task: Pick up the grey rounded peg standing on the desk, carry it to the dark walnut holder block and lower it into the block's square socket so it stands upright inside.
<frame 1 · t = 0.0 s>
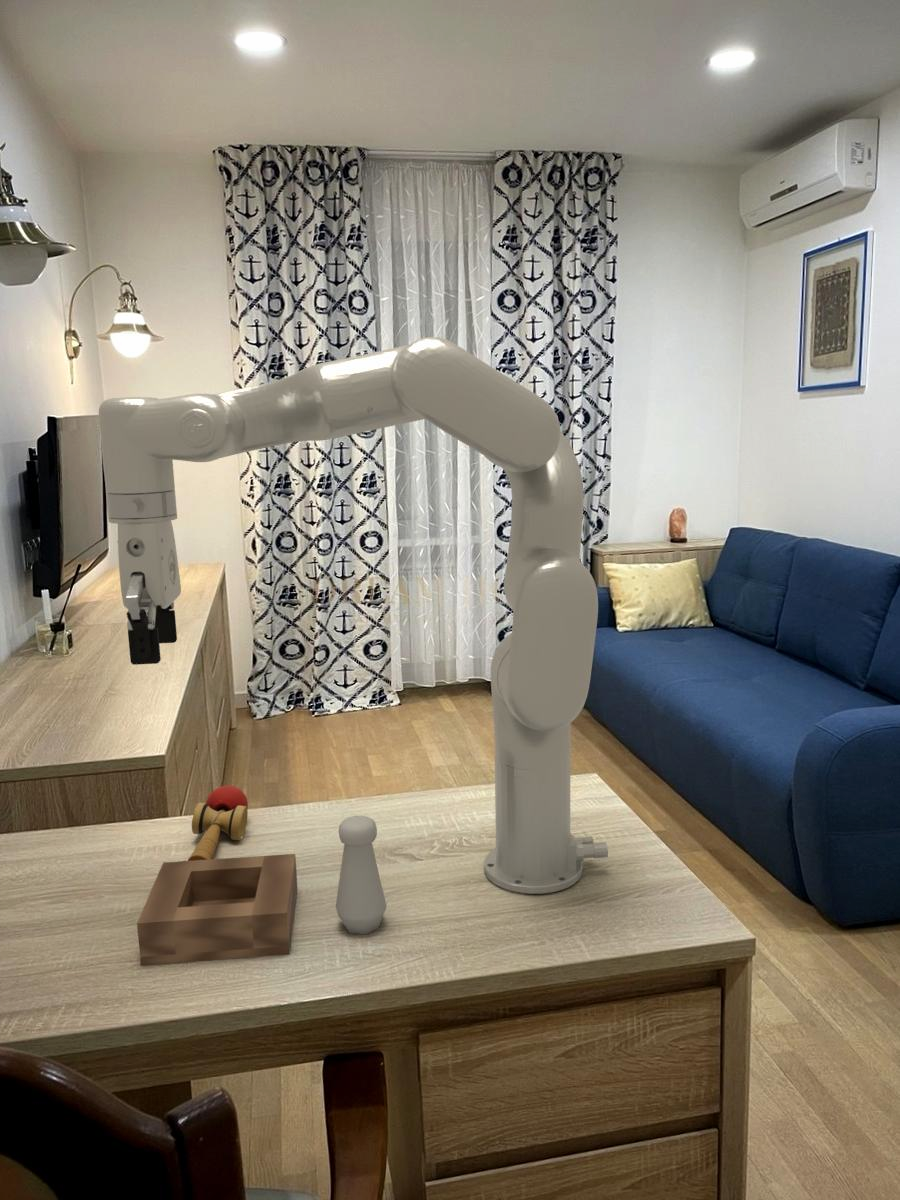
hand: (155, 652, 110), 31 cm above the table, tool pointing down, fingers open, 9 cm apart
grey rounded peg: (362, 926, 109), on the table
kendama: (218, 846, 130), on the table
socket block: (224, 925, 109), on the table
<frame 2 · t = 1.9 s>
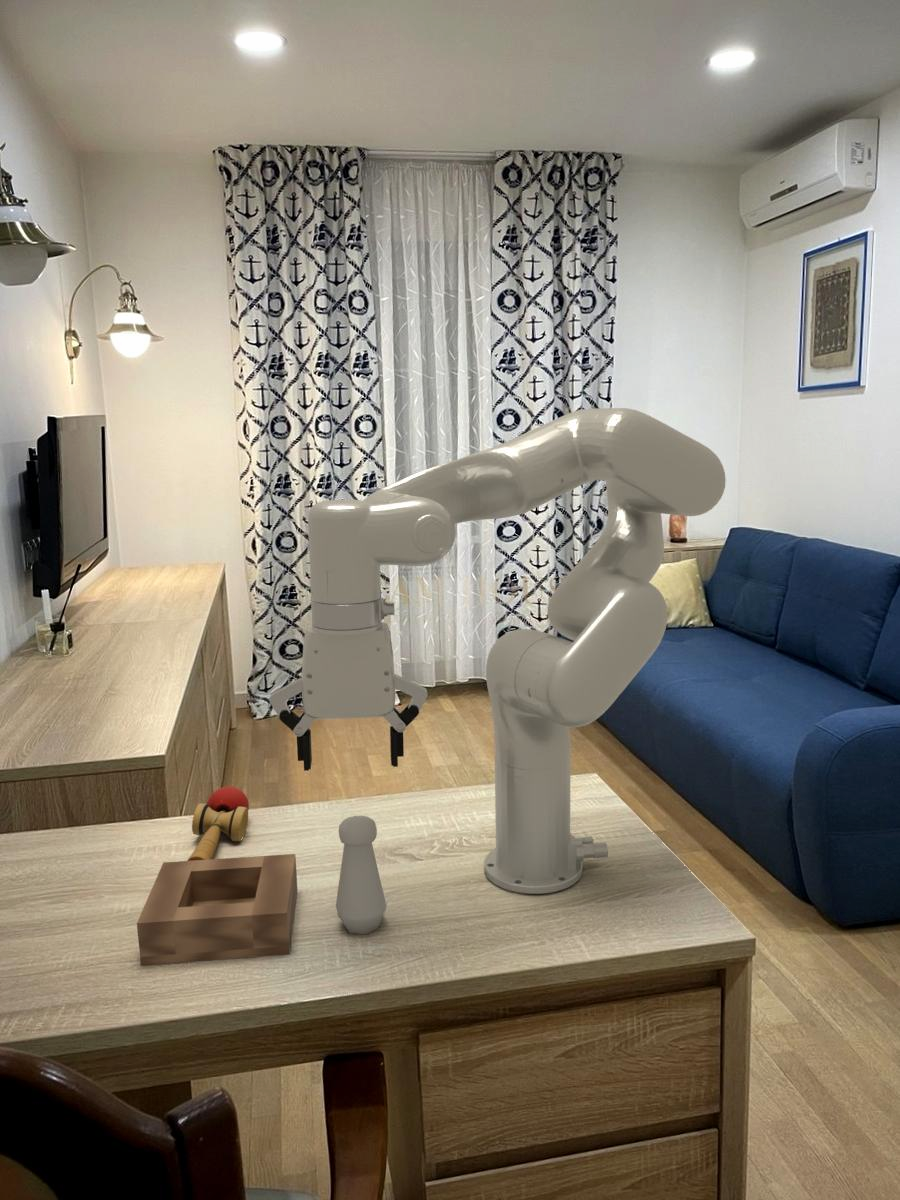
hand: (351, 764, 105), 20 cm above the table, tool pointing down, fingers open, 9 cm apart
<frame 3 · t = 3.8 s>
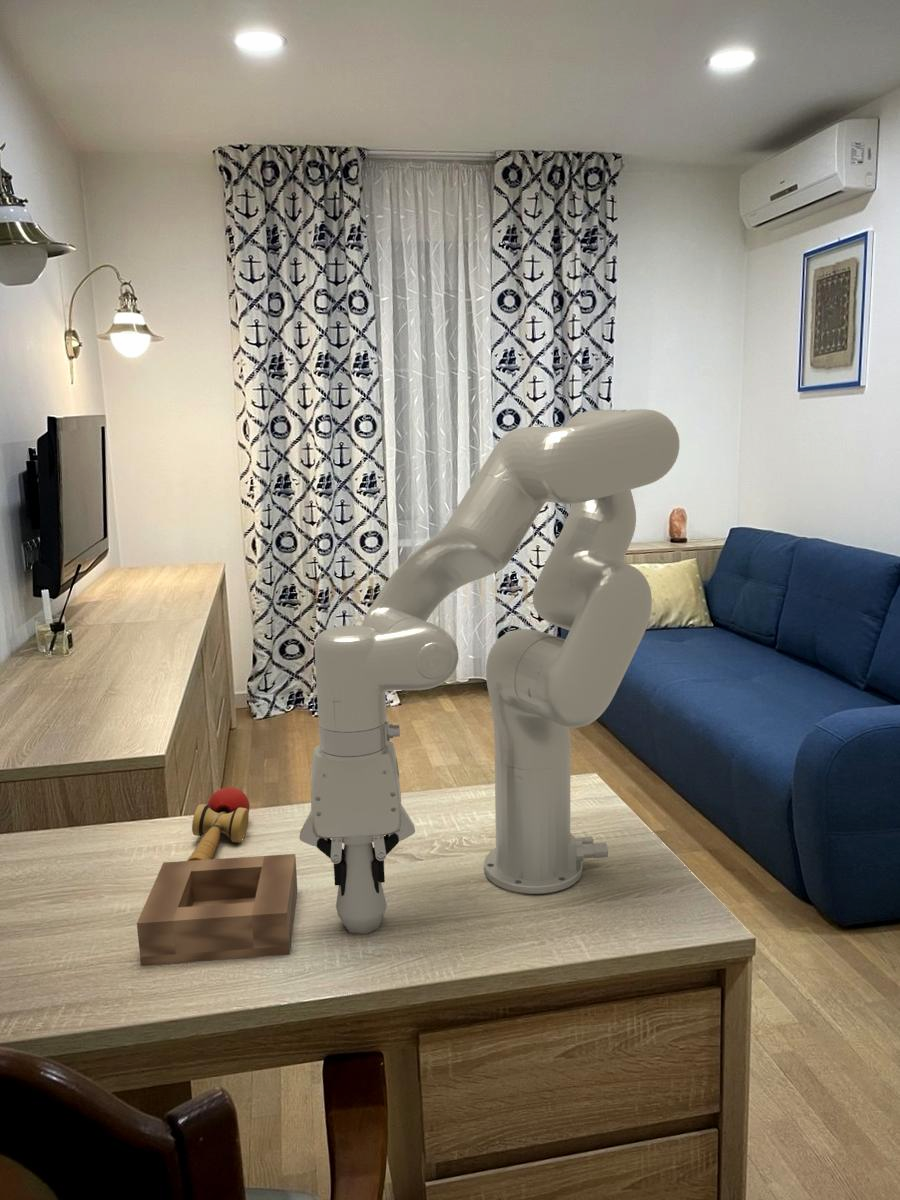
hand: (360, 887, 108), 5 cm above the table, tool pointing down, fingers closed on grey rounded peg, 3 cm apart
grey rounded peg: (362, 926, 109), on the table, touching gripper
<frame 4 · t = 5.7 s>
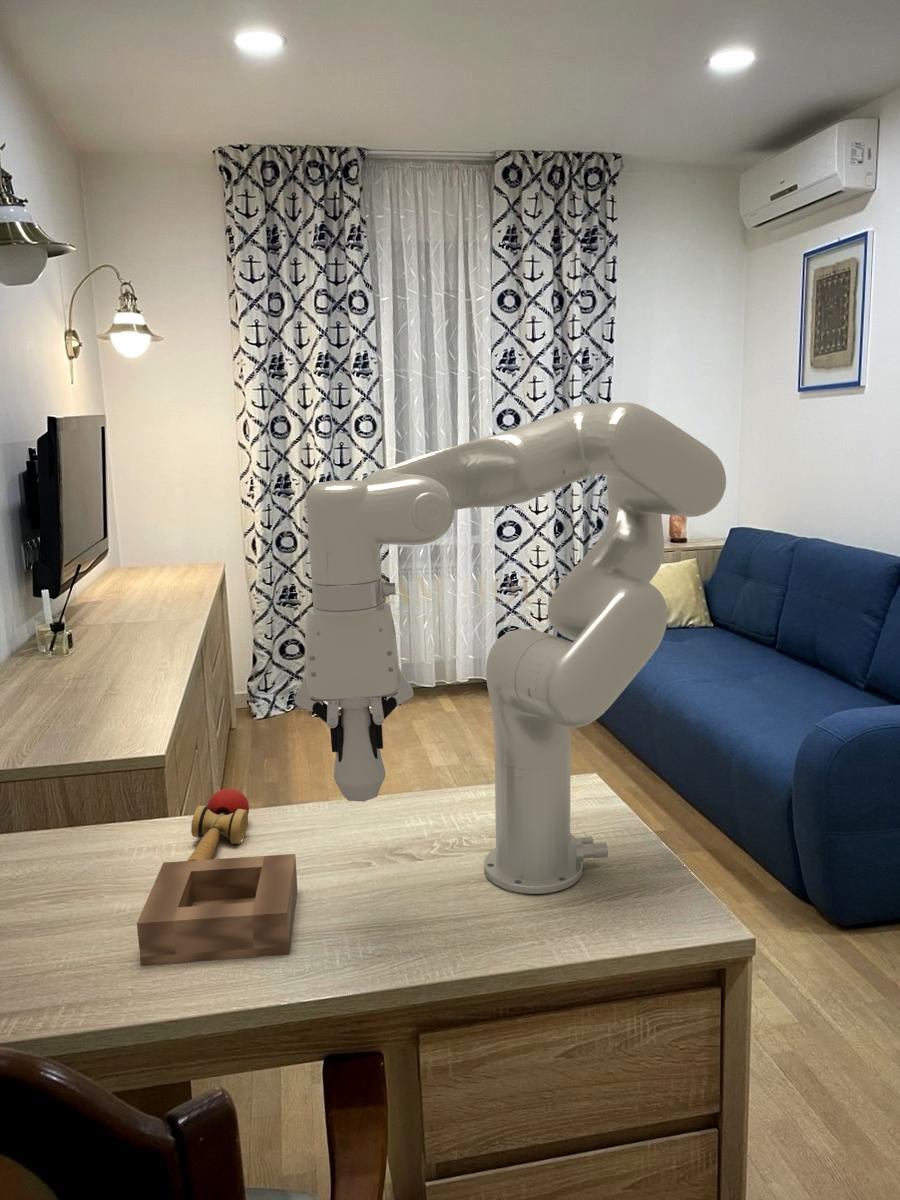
hand: (358, 754, 105), 21 cm above the table, tool pointing down, fingers closed on grey rounded peg, 3 cm apart
grey rounded peg: (361, 796, 106), point 16 cm above the table, touching gripper
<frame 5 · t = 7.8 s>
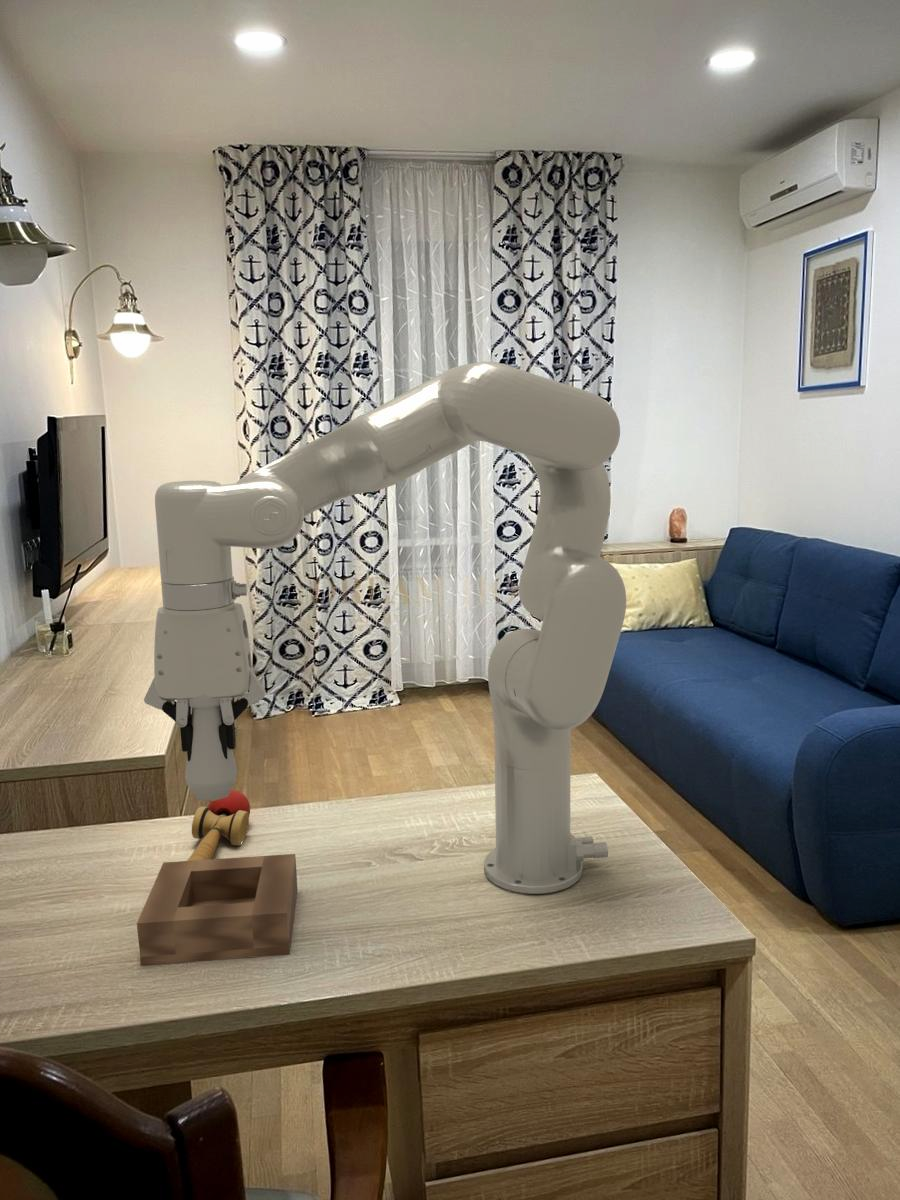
hand: (209, 754, 105), 21 cm above the table, tool pointing down, fingers closed on grey rounded peg, 3 cm apart
grey rounded peg: (212, 795, 106), point 16 cm above the table, touching gripper
when the fingers open (7 cm above the table, at t = 10.0 s): grey rounded peg stays where it is, resting on socket block.
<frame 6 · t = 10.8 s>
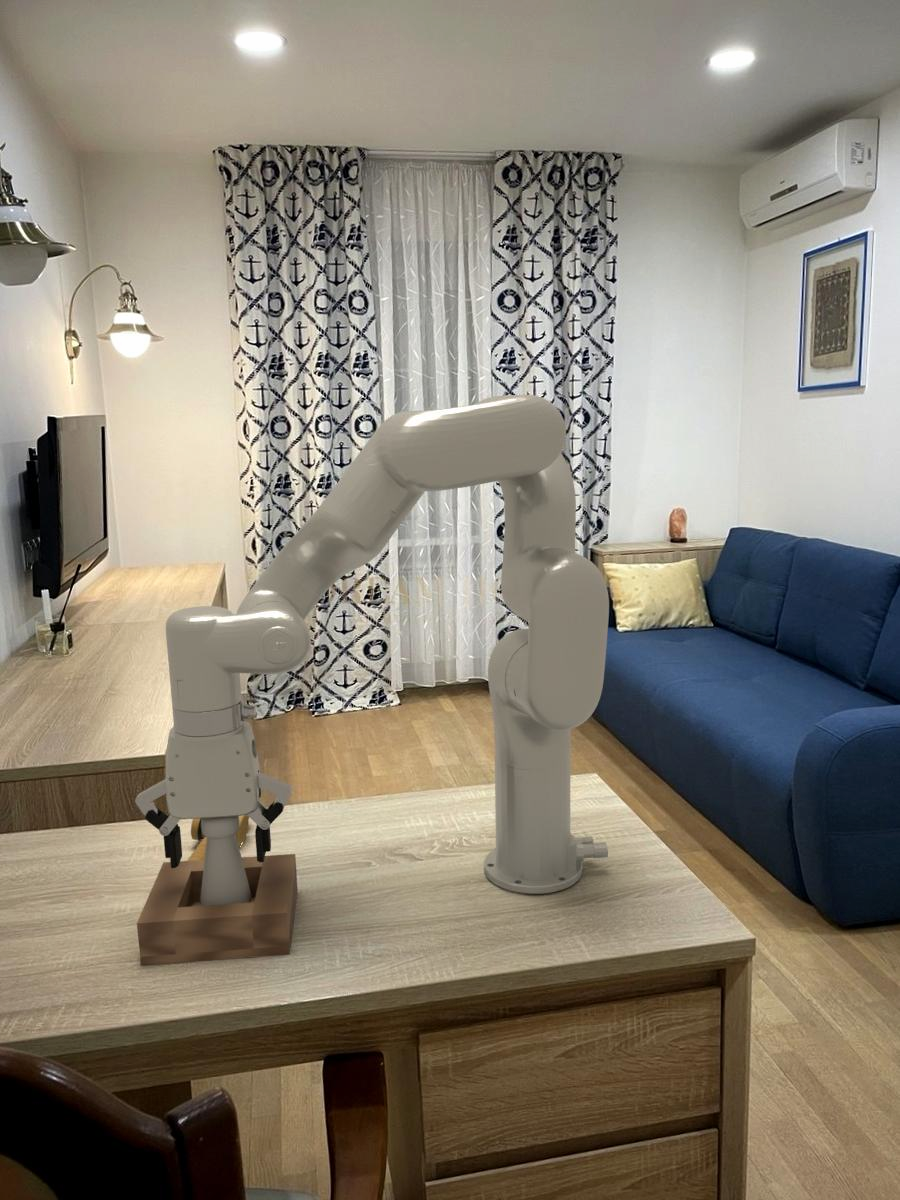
hand: (219, 859, 108), 8 cm above the table, tool pointing down, fingers open, 9 cm apart
grey rounded peg: (227, 918, 109), point 1 cm above the table, touching socket block
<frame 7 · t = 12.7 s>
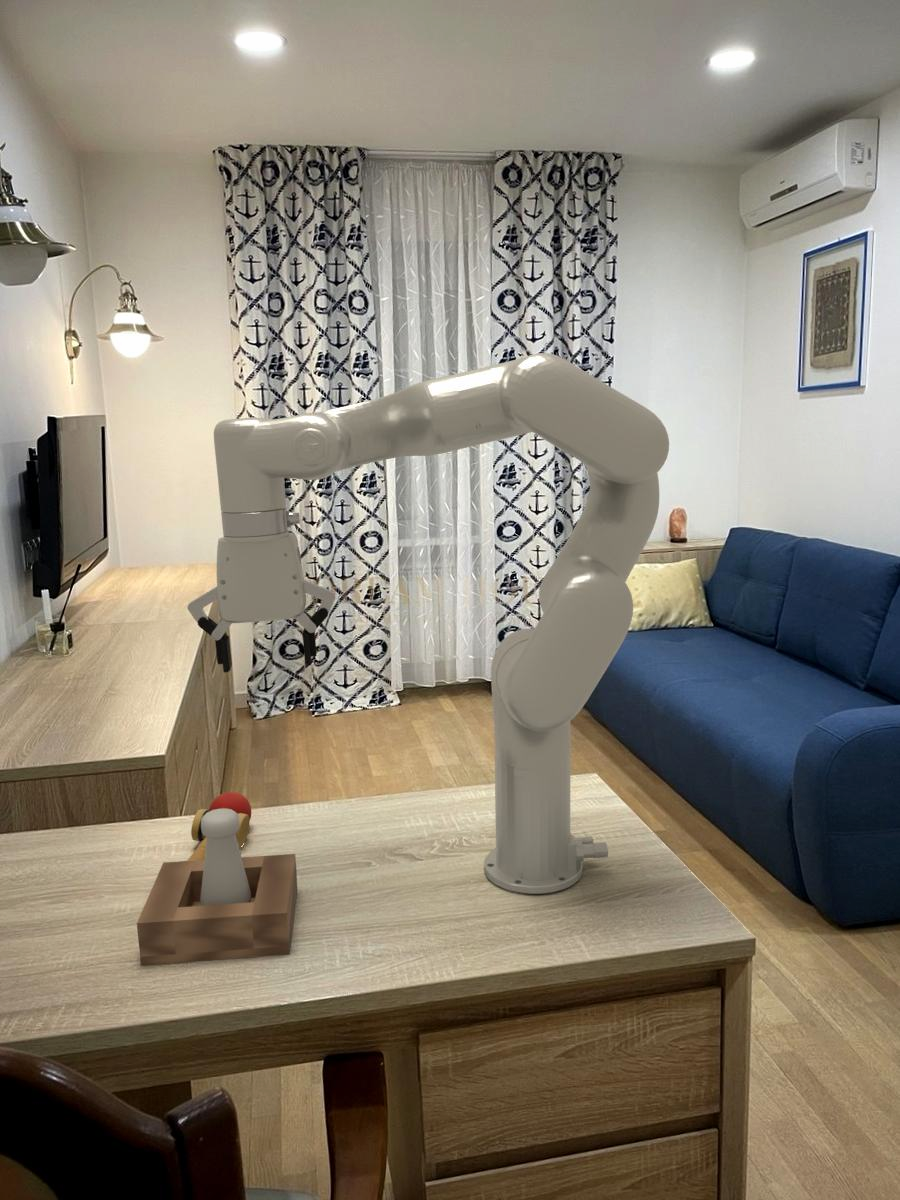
hand: (268, 666, 113), 29 cm above the table, tool pointing down, fingers open, 9 cm apart
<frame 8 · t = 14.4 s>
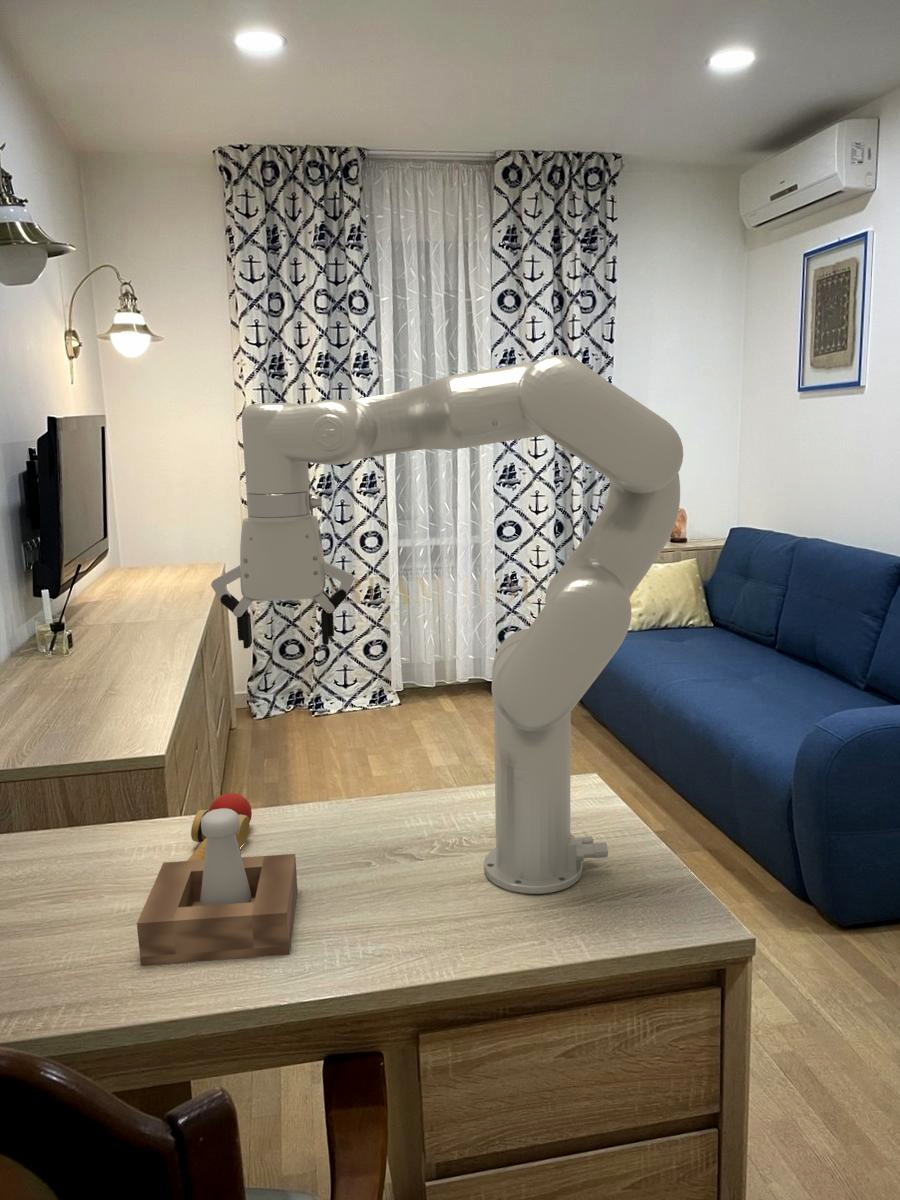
hand: (287, 644, 117), 30 cm above the table, tool pointing down, fingers open, 9 cm apart
at the end: grey rounded peg 0.4 cm off-centre on the socket block, point 0.8 cm above the socket block's base; grey rounded peg tilted 0°; the gripper is holding nothing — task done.
